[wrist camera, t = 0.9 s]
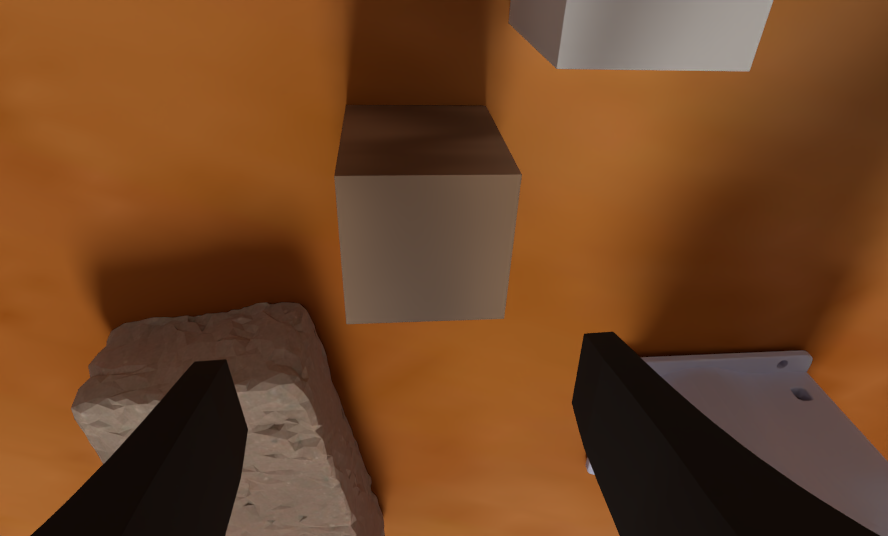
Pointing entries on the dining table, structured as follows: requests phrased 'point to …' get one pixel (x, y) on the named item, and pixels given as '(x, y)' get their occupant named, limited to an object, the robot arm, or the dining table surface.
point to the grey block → (643, 33)
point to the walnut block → (424, 213)
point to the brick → (246, 414)
